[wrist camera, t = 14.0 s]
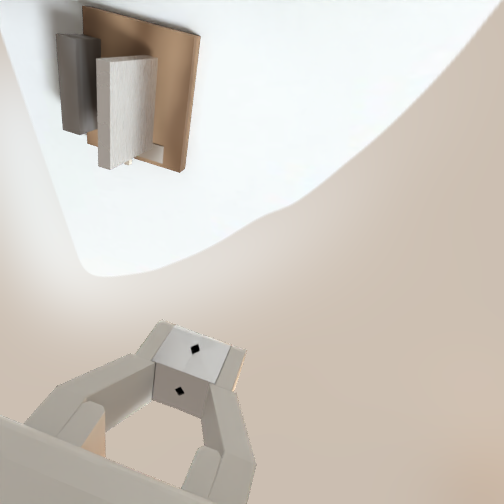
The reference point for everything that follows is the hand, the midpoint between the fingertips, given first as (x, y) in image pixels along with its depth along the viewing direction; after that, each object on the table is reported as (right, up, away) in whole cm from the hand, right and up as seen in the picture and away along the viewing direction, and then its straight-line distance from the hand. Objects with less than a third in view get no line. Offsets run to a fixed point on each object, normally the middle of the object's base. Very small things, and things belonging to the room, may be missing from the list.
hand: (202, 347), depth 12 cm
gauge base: (-11, +21, +28) cm, 37 cm away
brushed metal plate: (-11, +18, +28) cm, 35 cm away
